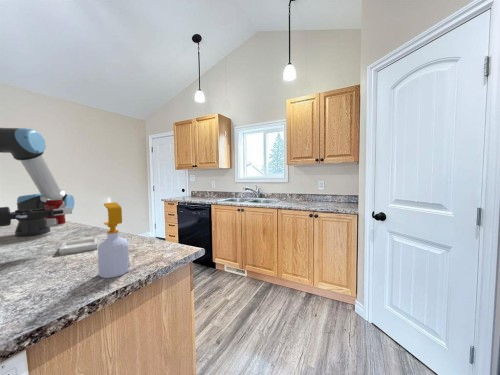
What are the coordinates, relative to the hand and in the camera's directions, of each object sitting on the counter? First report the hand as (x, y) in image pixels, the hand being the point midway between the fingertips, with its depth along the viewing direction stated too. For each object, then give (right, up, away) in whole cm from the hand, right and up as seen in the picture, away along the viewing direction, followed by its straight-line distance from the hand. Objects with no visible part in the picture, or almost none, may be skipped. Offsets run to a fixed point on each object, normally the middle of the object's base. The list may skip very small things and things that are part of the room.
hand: (69, 209), depth 105 cm
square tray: (+5, -18, +1) cm, 19 cm away
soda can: (-3, -7, -3) cm, 8 cm away
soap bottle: (+37, -20, -26) cm, 49 cm away
